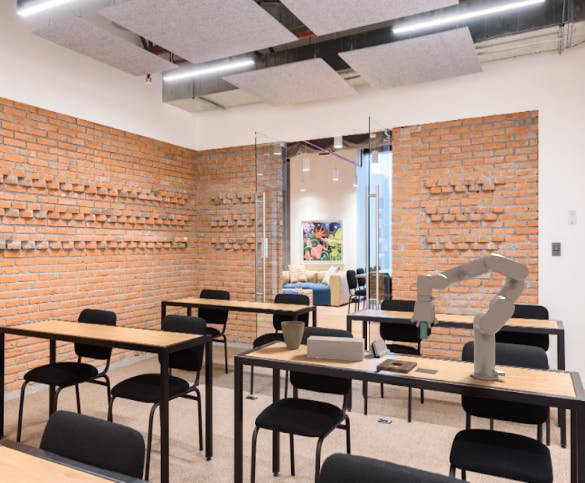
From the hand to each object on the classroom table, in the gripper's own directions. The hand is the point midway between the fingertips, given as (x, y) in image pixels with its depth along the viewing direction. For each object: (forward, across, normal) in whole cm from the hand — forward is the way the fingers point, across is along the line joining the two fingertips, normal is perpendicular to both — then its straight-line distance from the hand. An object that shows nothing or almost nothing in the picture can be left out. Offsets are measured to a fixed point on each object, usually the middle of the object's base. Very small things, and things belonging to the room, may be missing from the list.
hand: (424, 335), depth 228 cm
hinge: (+20, +32, -29) cm, 48 cm away
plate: (+19, -1, 0) cm, 19 cm away
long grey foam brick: (+20, +52, -10) cm, 57 cm away
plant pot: (+20, +86, -19) cm, 90 cm away
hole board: (+19, +14, 0) cm, 24 cm away
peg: (+2, 0, 0) cm, 2 cm away
